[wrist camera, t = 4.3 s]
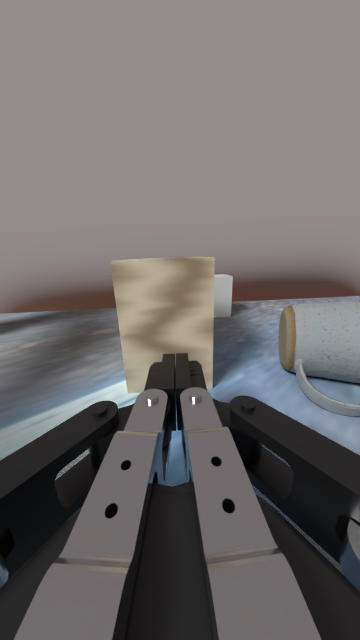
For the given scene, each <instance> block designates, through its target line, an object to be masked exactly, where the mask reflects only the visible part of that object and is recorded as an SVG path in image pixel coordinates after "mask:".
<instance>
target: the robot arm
mask: <svg viewBox="0 0 360 640" xmlns="http://www.w3.org/2000/svg"><path fill="white" fill-rule="evenodd" d="M176 407H177V428H178V430H181V432H182V450H183V459H184V467H185V476H186V483H184V484H181V485H178V486H174V487H170V486H166V481H167V473H168V464H169V456H170V447H171V444H170V441H171V434H172V431H176ZM262 444H263V445H264V446H266V447H267V448H269V449H270V450H271V451H273V452H274V453H276V454H277V455H278V456H280V457H281V458H283V459H284V460H285V461H286V462H287V463H288V464H289V465H290V466H291V467H289V466H288V465H287V464H285V463H284V462H283V461H281V460H280V459H278V458H277V457H276V456H274V455H273V454H271V453H270V452H269V451H267V450H266V449H265V448H263V447H262ZM88 448H89V454H88V455H87V456H86V457H84V458H83V459H82V460H81V461H79V462H78V463H77V464H76V465H74V466H73V467H72V468H71V469H69V470H68V471H67V472H66V473H64V474H63V475H62V476H61V477H59V478H58V479H57V480H56V481H55V478H56V476H57V474H58V473H59V472H60V471H61V470H62V469H63V468H64V467H65V466H66V465H68V464H69V463H70V462H71V461H73V460H74V459H75V458H77V457H78V456H79V455H80V454H82V453H83V452H84V451H86V450H87V449H88ZM251 484H253V485H254V486H255V487H256V488H257V489H258V490H259V491H260V492H261V493H262V494H263V495H265V496H266V497H267V498H268V499H269V500H270V501H271V502H272V503H273V504H274V505H276V506H277V507H278V508H279V509H280V510H281V511H282V512H283V513H284V514H285V515H287V516H288V517H289V518H290V519H291V520H292V521H293V522H294V523H295V524H296V525H298V526H299V527H300V528H301V529H302V530H303V531H304V532H305V533H306V534H307V535H309V536H310V537H311V538H312V539H313V540H314V541H315V542H316V543H317V544H318V545H320V546H321V547H322V548H323V549H324V550H325V551H326V552H327V553H328V554H329V555H330V556H332V557H333V558H334V559H335V560H336V561H337V562H338V563H339V564H340V565H341V568H342V571H343V574H344V575H343V574H342V573H341V572H340V571H339V570H337V569H336V568H335V567H334V566H333V565H332V564H331V563H330V562H329V561H328V560H327V559H326V558H325V557H324V556H323V555H322V554H321V553H320V552H319V551H318V550H317V549H316V548H315V547H314V546H313V545H312V544H311V543H310V542H309V541H308V540H307V539H306V538H305V537H304V536H303V535H301V534H300V533H299V532H298V531H297V530H296V529H295V528H294V527H293V526H292V525H291V524H290V523H289V522H288V521H287V520H286V519H285V518H284V517H283V516H282V515H281V514H280V513H279V512H278V511H277V510H276V509H275V508H274V507H272V506H271V505H270V504H269V503H267V502H266V501H265V500H263V499H262V498H260V497H259V496H257V495H255V492H254V490H253V487H252V485H251ZM0 640H360V455H358V454H356V453H354V452H352V451H350V450H349V449H347V448H345V447H343V446H341V445H340V444H338V443H336V442H334V441H332V440H330V439H329V438H327V437H325V436H323V435H321V434H319V433H318V432H316V431H314V430H312V429H310V428H308V427H307V426H305V425H303V424H301V423H299V422H297V421H296V420H294V419H292V418H290V417H288V416H287V415H285V414H283V413H281V412H279V411H277V410H276V409H274V408H272V407H270V406H268V405H266V404H265V403H263V402H261V401H259V400H257V399H255V398H253V397H249V396H238V397H235V398H234V399H232V401H231V403H230V404H229V403H223V402H220V401H217V400H215V399H213V398H212V397H211V395H210V393H209V392H208V391H207V387H206V383H205V379H204V375H203V371H202V366H201V364H200V363H199V362H198V361H197V360H196V361H189V360H188V353H176V364H175V353H171V354H163V358H162V362H154V363H153V364H152V365H151V366H150V368H149V373H148V377H147V380H146V384H145V388H144V392H142V393H141V394H139V395H138V397H137V399H136V401H135V403H134V404H132V405H130V406H126V407H123V408H119V409H118V407H117V405H116V403H114V402H112V401H101V402H97V403H95V404H93V405H91V406H89V407H88V408H86V409H84V410H83V411H81V412H79V413H78V414H76V415H74V416H73V417H71V418H70V419H68V420H66V421H65V422H63V423H61V424H60V425H58V426H56V427H55V428H53V429H52V430H50V431H48V432H47V433H45V434H43V435H42V436H40V437H38V438H37V439H35V440H34V441H32V442H30V443H29V444H27V445H25V446H24V447H22V448H20V449H19V450H17V451H15V452H14V453H12V454H11V455H9V456H7V457H6V458H4V459H2V460H1V461H0Z"/></svg>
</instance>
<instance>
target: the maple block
mask: <svg viewBox="0 0 360 640" xmlns="http://www.w3.org/2000/svg"><path fill="white" fill-rule="evenodd" d="M110 263H111V270H112V277H113V285H114V292H115V300H116V308H117V315H118V323H119V330H120V338H121V345H122V353H123V360H124V368H125V375H126V383H127V390H128V393H139V392H144V388H145V384H146V380H147V377H148V373H149V368H150V366H151V365H152V364H153V363H154V362H162V358H163V354H171V353H175V364H176V353H188V360H189V361H196V360H197V361H198V362H199V363H200V364H201V366H202V371H203V375H204V379H205V383H206V387H207V389H212V387H213V325H214V263H215V258H214V257H179V258H152V259H132V260H118V261H110Z"/></svg>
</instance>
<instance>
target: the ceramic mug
mask: <svg viewBox="0 0 360 640" xmlns="http://www.w3.org/2000/svg"><path fill="white" fill-rule="evenodd" d="M279 358H280V363H281V365H282V366H283V367H284V368H285V369H286V370H287V371H290V372H294V373H296V377H297V380H298V382H299V385H300V387H301V389H302V390H303V392H304V394H305V395H306V396H307V397H308V398H309V399H310V400H311V401H312V402H314V403H315V404H317V405H319V406H320V407H322V408H324V409H325V410H328V411H330V412H333V413H336V414H340V415H346V416H353V417H358V416H360V404H358V405H356V404H347V403H344V402H340V401H337V400H334V399H332V398H330V397H328V396H326V395H324V394H322V393H321V392H319V391H317V390H316V389H315V388H314V387H313V386H312V385H311V383H310V382H309V381H308V380H307V377H306V375H308V376H315V377H323V378H329V379H335V380H341V381H347V382H354V383H360V301H359V302H332V303H302V304H296V305H291V306H288V307H286V308H284V309H283V311H282V313H281V317H280V324H279Z"/></svg>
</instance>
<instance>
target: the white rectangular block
mask: <svg viewBox="0 0 360 640" xmlns="http://www.w3.org/2000/svg"><path fill="white" fill-rule="evenodd" d="M232 279H233V277H232V276H229V275H225V274H224V275H214V318H217V317H231V302H232Z"/></svg>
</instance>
